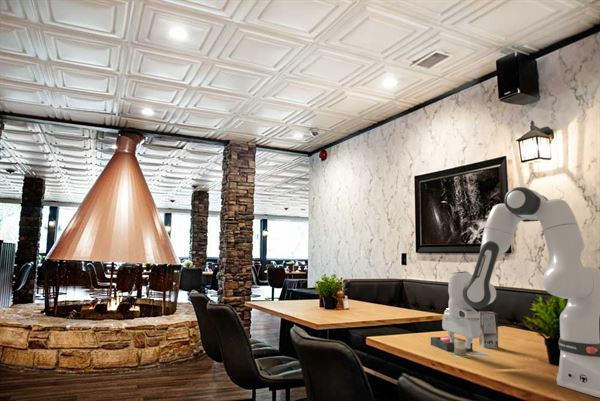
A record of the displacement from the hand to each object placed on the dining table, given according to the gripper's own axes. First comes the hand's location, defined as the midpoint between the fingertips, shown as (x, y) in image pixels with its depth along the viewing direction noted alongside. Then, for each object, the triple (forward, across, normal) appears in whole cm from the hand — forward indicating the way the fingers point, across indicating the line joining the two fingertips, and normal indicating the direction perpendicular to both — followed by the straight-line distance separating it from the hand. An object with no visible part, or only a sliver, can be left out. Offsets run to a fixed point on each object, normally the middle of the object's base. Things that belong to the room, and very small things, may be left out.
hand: (460, 345), depth 170 cm
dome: (+4, -13, +5) cm, 14 cm away
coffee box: (+5, -14, +26) cm, 30 cm away
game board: (+5, -7, +5) cm, 9 cm away
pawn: (+4, 0, 0) cm, 4 cm away
